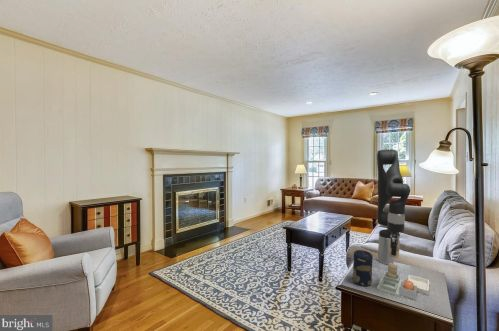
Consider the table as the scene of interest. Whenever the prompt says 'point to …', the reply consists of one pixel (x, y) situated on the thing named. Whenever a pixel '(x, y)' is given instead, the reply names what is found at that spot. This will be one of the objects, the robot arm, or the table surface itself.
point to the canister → (362, 267)
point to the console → (408, 292)
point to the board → (390, 284)
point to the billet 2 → (392, 271)
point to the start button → (408, 285)
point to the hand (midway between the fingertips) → (394, 253)
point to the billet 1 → (396, 250)
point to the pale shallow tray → (420, 284)
